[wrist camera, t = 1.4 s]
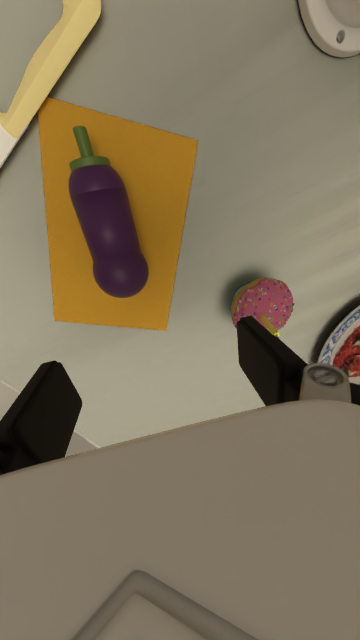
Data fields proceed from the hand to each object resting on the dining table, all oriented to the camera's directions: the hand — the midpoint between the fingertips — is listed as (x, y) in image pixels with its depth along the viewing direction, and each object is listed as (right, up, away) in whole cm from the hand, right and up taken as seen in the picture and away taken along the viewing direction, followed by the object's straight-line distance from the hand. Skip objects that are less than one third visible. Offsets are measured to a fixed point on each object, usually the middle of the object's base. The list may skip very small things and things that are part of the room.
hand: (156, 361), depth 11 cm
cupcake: (+12, +6, +22) cm, 25 cm away
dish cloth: (-7, +12, +15) cm, 21 cm away
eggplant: (-7, +14, +14) cm, 21 cm away
